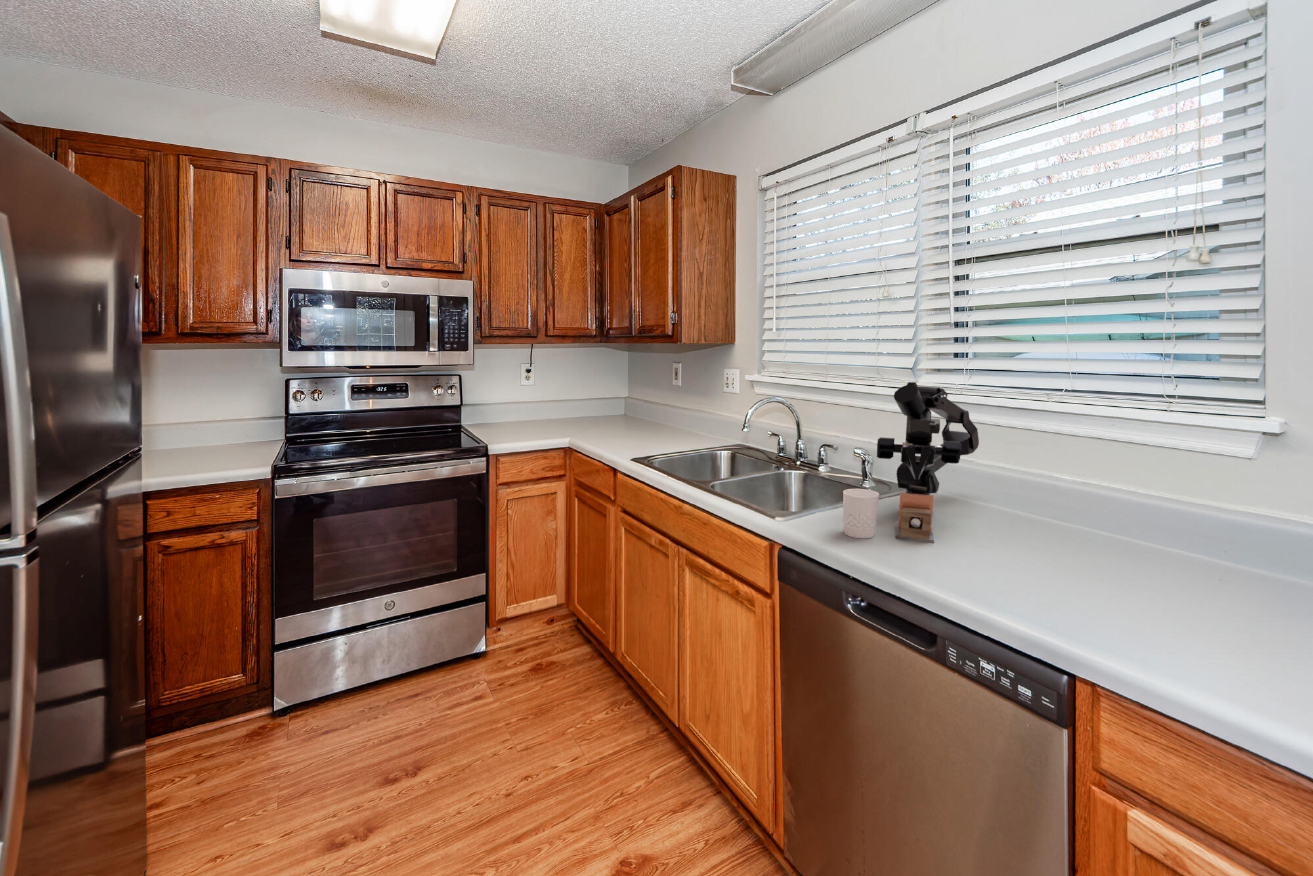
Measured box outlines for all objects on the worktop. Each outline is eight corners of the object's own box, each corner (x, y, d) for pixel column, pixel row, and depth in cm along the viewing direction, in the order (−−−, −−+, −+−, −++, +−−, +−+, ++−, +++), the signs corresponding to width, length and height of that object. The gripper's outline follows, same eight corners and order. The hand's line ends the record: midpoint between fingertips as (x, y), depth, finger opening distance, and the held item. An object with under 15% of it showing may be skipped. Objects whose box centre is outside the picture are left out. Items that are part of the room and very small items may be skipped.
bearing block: (895, 525, 142) (897, 499, 141) (931, 529, 139) (933, 502, 138) (895, 538, 133) (897, 510, 132) (934, 542, 130) (936, 514, 129)
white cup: (870, 541, 131) (873, 498, 129) (836, 535, 135) (838, 493, 134) (881, 532, 137) (883, 491, 135) (847, 526, 141) (849, 487, 140)
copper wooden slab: (898, 528, 137) (900, 492, 136) (930, 531, 134) (933, 495, 133) (898, 534, 132) (900, 497, 131) (931, 538, 130) (934, 500, 128)
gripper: (879, 405, 144) (875, 456, 135) (964, 408, 137) (965, 462, 128) (878, 432, 152) (874, 482, 144) (958, 436, 145) (959, 489, 137)
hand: (916, 478), depth 138 cm, fingers closed
